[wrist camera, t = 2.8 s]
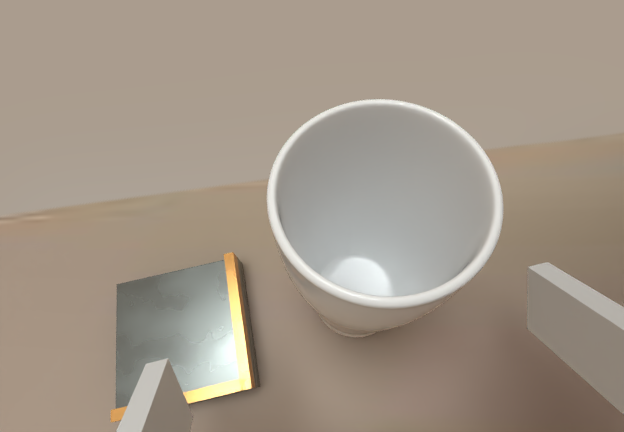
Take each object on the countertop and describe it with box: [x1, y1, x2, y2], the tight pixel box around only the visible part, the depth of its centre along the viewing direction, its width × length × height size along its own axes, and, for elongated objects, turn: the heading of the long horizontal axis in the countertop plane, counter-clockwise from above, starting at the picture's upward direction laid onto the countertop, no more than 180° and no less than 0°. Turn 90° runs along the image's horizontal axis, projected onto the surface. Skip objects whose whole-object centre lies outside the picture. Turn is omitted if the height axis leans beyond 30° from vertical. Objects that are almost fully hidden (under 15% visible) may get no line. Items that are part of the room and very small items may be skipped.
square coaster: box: [111, 252, 260, 422], centre depth 22 cm, size 8×8×2 cm
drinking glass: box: [267, 99, 503, 338], centre depth 17 cm, size 7×7×15 cm
